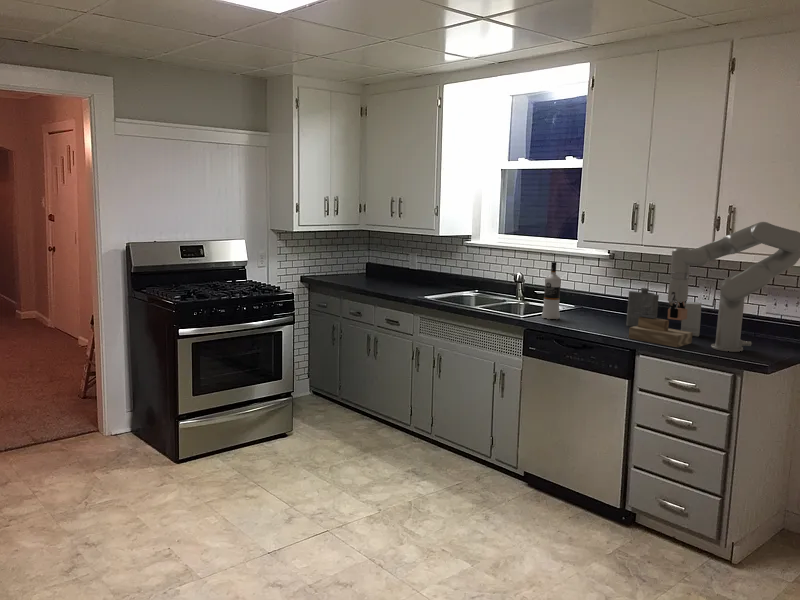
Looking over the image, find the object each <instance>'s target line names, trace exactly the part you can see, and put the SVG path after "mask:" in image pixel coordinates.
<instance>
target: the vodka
mask: <svg viewBox="0 0 800 600" xmlns="http://www.w3.org/2000/svg"><path fill="white" fill-rule="evenodd" d="M557 263H558V262H557V261H551V266H550V274H549V275H548V276H546V277H545V278H544V293H543V294H544V295H543V307H542V312H541V317H542V318H543V319H544V318H547V319H546V320H550V319H556V320H559V319H560V318H561V317H560V316H561V315H560V301H561V300H560V298H561V286H562V285H561V283H562V279H561V277H560V276H558V275H557Z"/></svg>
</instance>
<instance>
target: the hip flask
mask: <svg viewBox="0 0 800 600" xmlns="http://www.w3.org/2000/svg"><path fill="white" fill-rule="evenodd" d="M649 289H650V288H647V287H641V288H640V290H641V291H633V290H632V291H631V290H630V291H628V298H627V299H628V300H627V310H626V325H625V326H626V327H634V326H638V321H639V317H641V316H634V315H633V314H634V313H635V312H639V313H643V311H640V307H641V306H651V310H650V311H648V314H652V315H657V316H658V311H659V310H658V309H659V297H660V296H659V294H655V293H653V292H649Z"/></svg>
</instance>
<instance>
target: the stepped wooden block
mask: <svg viewBox="0 0 800 600" xmlns="http://www.w3.org/2000/svg"><path fill="white" fill-rule="evenodd" d="M669 325H670V319H665V318H664V319H663V318H658V317H657V318H654V319H653V318H647V317H639V321H638V326H634V327H631V326H629V328H628V329H629V330H628V338H629V339H630V340H635V341H636V340H637V341H640V342H641V341H642V342H648V343H652V344H653V343H654V344H657V345H663V346H669V347H675V348H679V347H683V346H687V345H690V344H692V343H693V336H692V334H693V332H688V331H682V330H681V329H674V328H670V327H669Z"/></svg>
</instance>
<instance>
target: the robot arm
mask: <svg viewBox="0 0 800 600" xmlns="http://www.w3.org/2000/svg"><path fill="white" fill-rule="evenodd" d="M761 244H763V245H765V246H768V247H773V248H775V249H778V250H777V251H776V252H774V253H772V254H770V255H769V256H768V257H766V258H763V259H761V260H759V261H758V262H756V263H753V264H751V265H749V266H748V267H747V269H745V270H743V271H741V272H740V273H738V274H736V275H734V276H733V275H732V276H727V277H726V278H724V279H723V280H722V282H721V284H720V294H719V302H718V303H719V305H718V314H717V323H716V331H715V332H716V333H715V334H716V335H715V343H711V345H710V348H711V349H714V350H717V351H721V352H728V351H729V353H730V352H731V353H739V352H740V351H741V352H743V351H744V346H746V347H751V346H752V344H753V343H752V341H746V340H742V339H741V335H742V325H743V314H744V308H745V299H746V297H748V296H750V295H751V294H753V293H755V292H758V291H759V290H761V289H763V288H764V287H766V286H767V285H768V284H770V282H771V280H772V279H774V278H776V277H778V276H779V275H781V274H783V273H784V272H786V271H788V270H789V269H791V268H792V267H793V266H795V265H796V264H797V263H798V261H799V260H800V232H799V231H797V230H793V229H789V228H785V227H781V226H779V225H775V224H772V223H770V222H766V221H759V222H757V223H755V224H751V225H749V226H746V227H745V228H742V229H740V230H737V231H735V232H732V233H729V234H727V235H725V236H723V237H722V238H719V239H717V240H714V241H712V242H710V243H707V244H705V245H702V246H700V247H698V248H693V249H689V248H684V247H683V248H682V247H679V248H676V247H675V248H673V249H672V251H671V264H670V265H671V268H670V280H669V285H668V290H667V291H668V292H667V293H668V294H667V301H668V304H669V308H670V317H672V318H677V317H678V309H677V308H684V309H685V307H686V302H688V299H689V280H690V267H691V266H694V267H695V266H696V267H702V266H705V265H706V264H708V263H709V262H712V261H714V260H716V259H719V258H721V257H725V256H729V255H735V254H738V253H741V252H743V251H746V250H748V249H751V248H754V247H755V246H758V245H761Z"/></svg>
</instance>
